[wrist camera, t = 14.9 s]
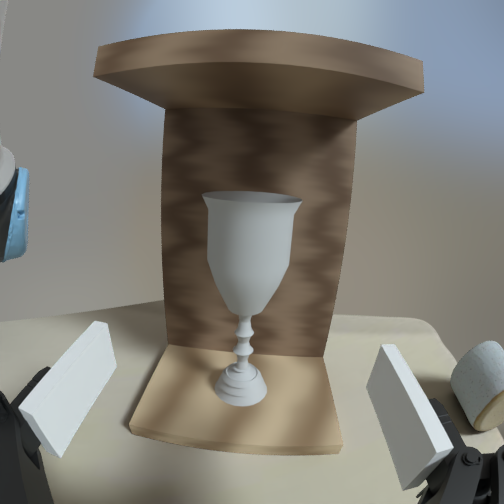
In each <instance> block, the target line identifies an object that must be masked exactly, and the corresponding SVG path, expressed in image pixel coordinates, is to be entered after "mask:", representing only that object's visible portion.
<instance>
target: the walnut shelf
mask: <svg viewBox="0 0 504 504" xmlns="http://www.w3.org/2000/svg"><path fill="white" fill-rule="evenodd" d="M93 77H95V78H97V79H100V80H102V81H105V82H107V83H110V84H112V85H114V86H116V87H119V88H121V89H123V90H125V91H128V92H130V93H132V94H134V95H137V96H139V97H141V98H143V99H145V100H147V101H149V102H152V103H154V104H156V105H158V106H160V107H162V108H164V109H165V121H164V136H163V155H162V184H161V236H162V267H163V287H164V302H165V315H166V327H167V337H168V346H167V348H166V350H165V352H164V354H163V356H162V358H161V359H160V361H159V363H158V365H157V367H156V369H155V371H154V373H153V375H152V377H151V379H150V381H149V383H148V385H147V387H146V389H145V392H144V394H143V396H142V398H141V400H140V402H139V404H138V406H137V408H136V410H135V412H134V414H133V416H132V418H131V420H130V422H129V426H130V429H131V432H132V434H134V435H138V436H142V437H146V438H150V439H154V440H159V441H163V442H168V443H173V444H178V445H183V446H189V447H195V448H202V449H209V450H216V451H225V452H234V453H246V454H262V455H324V454H339V452H340V450H341V448H342V446H343V441H342V436H341V431H340V427H339V422H338V418H337V414H336V409H335V405H334V400H333V396H332V392H331V388H330V384H329V379H328V375H327V371H326V367H325V363H324V359H323V355H324V351H325V347H326V342H327V338H328V333H329V329H330V324H331V319H332V315H333V309H334V305H335V300H336V294H337V289H338V284H339V277H340V272H341V266H342V260H343V253H344V247H345V240H346V233H347V225H348V218H349V210H350V202H351V193H352V183H353V172H354V159H355V146H356V130H357V128H356V127H357V120H359V119H362V118H364V117H366V116H368V115H370V114H373V113H375V112H377V111H380V110H382V109H385V108H387V107H389V106H392V105H394V104H397V103H399V102H402V101H404V100H406V99H409V98H411V97H414V96H417V95H419V94H422V93H424V77H423V61H421V60H418V59H415V58H412V57H409V56H406V55H403V54H400V53H396V52H393V51H390V50H386V49H382V48H378V47H374V46H371V45H366V44H362V43H358V42H352V41H348V40H343V39H338V38H332V37H326V36H320V35H313V34H304V33H296V32H286V31H272V30H248V29H247V30H246V29H228V30H227V29H225V30H203V31H202V30H201V31H188V32H178V33H169V34H161V35H154V36H148V37H141V38H136V39H130V40H125V41H121V42H116V43H112V44H108V45H104V46H99V47H98V52H97V57H96V63H95V69H94V75H93ZM215 191H252V192H266V193H275V194H282V195H288V196H293V197H297V198H300V199H302V200H303V201H302V203H301V204H300V206H299V208H298V209H297V211H296V212H295V214H294V220H293V231H292V241H291V250H290V260H289V266H288V268H287V270H286V272H285V274H284V276H283V278H282V281H281V283H280V285H279V287H278V288H277V290H276V291H275V293H274V294H273V296H272V297H271V299H270V300H269V302H268V303H267V305H266V306H265V308H264V309H263V310H262V312H260V313H259V314H256V315H252V317H251V320H250V322H251V328H252V330H253V331H254V334H253V335H252V336H251V337H250V340H249V343H250V346H251V347H252V348H253V352H252V353H251V354H250V355H249V357H248V363H250V364H252V365H254V366H255V367H256V368H257V369H258V370H259V371H260V373H261V376H262V378H263V380H264V382H265V384H266V386H267V393H266V395H265V397H264V398H263V399H262V400H261V401H260V402H258V403H256V404H254V405H250V406H234V405H231V404H227V403H225V402H224V401H222V400H221V399H220V398H219V397H218V396H217V395H216V392H215V384H216V382H217V381H218V379H219V377H220V375H221V374H222V372H223V370H224V369H225V368H226V367H227V366H229V365H230V364H232V363H235V362H237V360H238V359H237V355H236V354H235V353H234V352H233V348H234V346H236V345H237V343H238V338H237V336H236V334H235V330H236V329H237V328H238V324H239V315H237V314H234V313H232V312H231V311H230V310H229V309H228V307H227V305H226V303H225V302H224V300H223V298H222V296H221V294H220V292H219V290H218V288H217V286H216V284H215V281H214V278H213V275H212V272H211V269H210V266H209V263H208V260H207V246H208V207H207V205H206V203H205V201H204V199H203V196H202V194H203V193H207V192H215Z"/></svg>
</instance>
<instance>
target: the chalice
mask: <svg viewBox="0 0 504 504" xmlns="http://www.w3.org/2000/svg"><path fill="white" fill-rule="evenodd" d="M202 196H203V199H204V201H205V203H206V205H207V207H208V246H207V260H208V263H209V266H210V269H211V272H212V275H213V278H214V281H215V284H216V286H217V288H218V290H219V292H220V294H221V296H222V298H223V300H224V302H225V303H226V305H227V307H228V309H229V310H230V311H231V312H232V313H234V314H237V315H239V324H238V328H237V329H236V330H235V334H236V336H237V338H238V343H237V345H236V346H234V348H233V352H234V353H235V354H236V355H237V359H238V360H237V362H235V363H232V364H230V365H229V366H227V367H226V368H225V369H224V370H223V372H222V374H221V375H220V377H219V379H218V381H217V382H216V384H215V392H216V395H217V396H218V397H219V398H220V399H221V400H222V401H224V402H225V403H227V404H231V405H234V406H250V405H254V404H256V403H258V402H260V401H261V400H262V399H263V398H264V397H265V395H266V393H267V386H266V384H265V382H264V380H263V378H262V376H261V373H260V371H259V370H258V369H257V368H256V367H255V366H254V365H252V364H250V363H248V357H249V355H250V354H251V353H252V352H253V348H252V347H251V346H250V343H249V340H250V337H251V336H252V335H253V334H254V331H253V330H252V328H251V322H250V320H251V317H252V315H256V314H259V313H260V312H262V310H263V309H264V308H265V306H266V305H267V303H268V302H269V300H270V299H271V297H272V296H273V294H274V293H275V291H276V290H277V288H278V287H279V285H280V283H281V281H282V278H283V276H284V274H285V272H286V270H287V268H288V266H289V260H290V250H291V241H292V231H293V220H294V214H295V212H296V211H297V209H298V208H299V206H300V204H301V203H302V201H303V200H302V199H300V198H297V197H293V196H288V195H282V194H275V193H266V192H252V191H215V192H207V193H203V194H202Z"/></svg>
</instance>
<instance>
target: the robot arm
mask: <svg viewBox="0 0 504 504" xmlns="http://www.w3.org/2000/svg"><path fill="white" fill-rule="evenodd" d="M8 1H9V0H0V52H1V42H2V35H3V28H4V21H5V16H6V10H7V6H8ZM28 203H29V172H28V170H27V169H25V168H21V167H20V168H18V169H16V166H15V159H14V156H13V154H12V153H11V151H9V150H8V149H7V148H5V147H3V146H2V145H1V135H0V262H5V261H6V260H9V259H14V258H18V257H21V256H22V255H23V254H24V253H25V252H26V249H27V244H28ZM116 367H117V365H116V361H115V356H114V352H113V348H112V343H111V339H110V334H109V329H108V324H107V323H104V322H98V321H94V322H93V323H92V324H91V325H90V326H89V327H88V328H87V329H86V331H85V332H84V333H83V334H82V335H81V336H80V337H79V338H78V339H77V340H76V341H75V342H74V343H73V344H72V346H71V347H70V348H69V349H68V350H67V351H66V352H65V353H64V354H63V355H62V357H61V358H60V359H59V360H58V361H57V362H56V363H55V364H54V366H53V367H52V368H50V367H46V368H44V369H42V370H40V371H39V372H38V373H37V374H36V375H35V376H34V377H33V378H32V380H31V381H30V382H29V383H28V384H27V386H25V387H24V389H23V390H22V391H21V392H20V393H19V394H18V396H17V397H16V398H15V399H14V400H13V401H12V403H11V404H9V402H8V401H7V399H6V397H5V395H4V394H3V393H2V392H1V391H0V504H54V502H53V499H52V495H51V492H50V489H49V485H48V482H47V478H46V474H45V470H44V466H43V462H42V457H41V453H40V451H39V449H38V447H39V446H40V444H42V446H43V447H44V448H45V450H46V451H47V452H49V453H51V454H53V455H55V456H57V457H59V458H61V457H62V455H63V453H64V452H65V450H66V448H67V446H68V445H69V443H70V441H71V440H72V438H73V436H74V435H75V433H76V431H77V429H78V428H79V426H80V424H81V423H82V421H83V420H84V418H85V416H86V415H87V413H88V411H89V410H90V408H91V406H92V405H93V403H94V402H95V400H96V398H97V397H98V395H99V394H100V392H101V391H102V389H103V387H104V386H105V384H106V383H107V381H108V380H109V378H110V376H111V375H112V373H113V372H114V370H115V369H116ZM366 388H367V391H368V393H369V396H370V398H371V401H372V404H373V406H374V409H375V412H376V414H377V417H378V420H379V422H380V425H381V428H382V431H383V434H384V436H385V439H386V442H387V445H388V448H389V451H390V454H391V456H392V459H393V462H394V465H395V468H396V471H397V475H398V478H399V481H400V484H401V487H402V490H407V489H411V488H414V487H418V486H419V485H420V484H421V483H422V482H423V481H424V480H425V479H426V480H427V483H428V485H427V486H426V487H425V488H424V489H423V490H422V491H421V492H420V493H419V494H418V495H417V496H416V497H417V498H418V497H420V496H421V495H422V496H421V498H420V500H419V502H418V504H504V445H503V446H501V447H500V448H499V449H498V450H497V451H496V453H489V454H481V453H480V452H479V451H478V450H477V449H475V448H473V447H467V446H466V445H465V443H464V442H463V440H462V438H461V436H460V434H459V432H458V431H457V429H456V427H455V425H454V424H453V422H451V421H452V420H451V418H450V417H449V415H448V413H447V411H446V410H445V408H444V406H443V405H442V404H441V403H440V402H439V401H437V400H436V399H435V398H433V399H427V397H426V395H425V393H424V392H423V390H422V388H421V387H420V385H419V383H418V381H417V380H416V378H415V376H414V375H413V373H412V371H411V370H410V368H409V366H408V365H407V363H406V361H405V360H404V358H403V357H402V355H401V353H400V352H399V350H398V349H397V347H396V345H395V344H387V345H381V347H380V350H379V353H378V356H377V358H376V361H375V364H374V367H373V370H372V372H371V375H370V378H369V380H368V383H367V386H366Z"/></svg>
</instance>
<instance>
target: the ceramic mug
mask: <svg viewBox="0 0 504 504" xmlns="http://www.w3.org/2000/svg"><path fill="white" fill-rule="evenodd" d="M450 383H451V387H452V389H453V391H454V393H455V395H456V397H457V399H458V401H459V402H460V404H461V406H462V408H463V410H464V412H465V414H466V416H467V418H468V420H469V422H470V423H471V425H472V426H473V427H474V428H475V429H476V430H478V431H488V430H491V429H493V428H495V427H497V426H499V425H500V424H501V423H503V422H504V350H503V349H502V347H501V346H500V345H499V344H498V343H497V342H495V341H486V342H483V343H480V344H478V345H476V346H475V347H474V348H472V349H471V350H470V351H468V352H467V353H466V354H465V355H464V356H463V357H462V358H461V360H460V361H459V362H458V364H457V365H456V367H455V368H454V370H453V372H452V375H451V380H450Z"/></svg>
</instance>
